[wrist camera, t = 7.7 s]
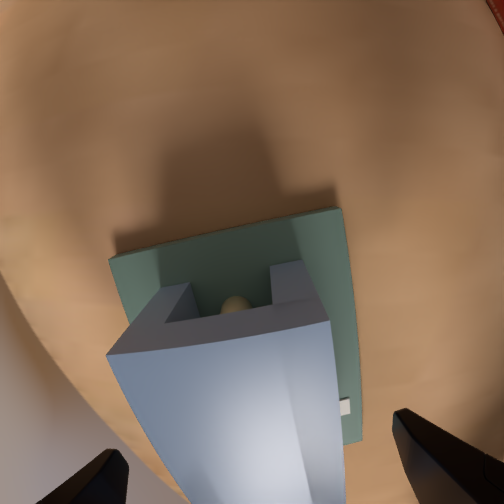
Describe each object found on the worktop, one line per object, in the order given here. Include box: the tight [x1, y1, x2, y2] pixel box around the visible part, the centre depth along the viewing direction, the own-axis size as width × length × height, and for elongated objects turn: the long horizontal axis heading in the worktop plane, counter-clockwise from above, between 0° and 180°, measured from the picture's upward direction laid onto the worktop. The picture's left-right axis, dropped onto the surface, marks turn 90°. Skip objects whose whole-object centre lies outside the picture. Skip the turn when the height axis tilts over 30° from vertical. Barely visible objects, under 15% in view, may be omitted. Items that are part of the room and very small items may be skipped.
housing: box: [106, 259, 346, 504], centre depth 10 cm, size 9×5×5 cm, turn 12°
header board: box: [108, 206, 362, 446], centre depth 12 cm, size 12×9×4 cm
